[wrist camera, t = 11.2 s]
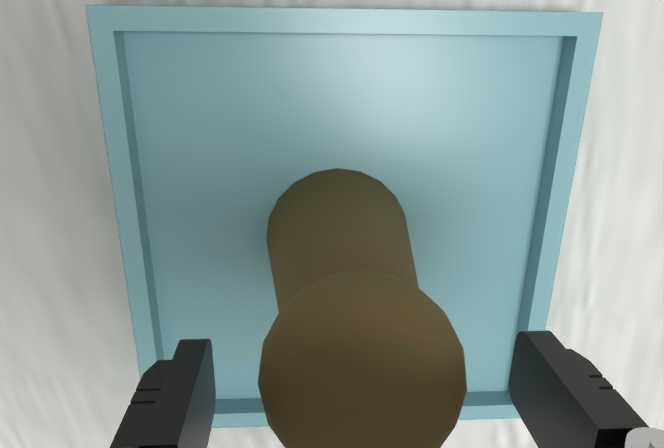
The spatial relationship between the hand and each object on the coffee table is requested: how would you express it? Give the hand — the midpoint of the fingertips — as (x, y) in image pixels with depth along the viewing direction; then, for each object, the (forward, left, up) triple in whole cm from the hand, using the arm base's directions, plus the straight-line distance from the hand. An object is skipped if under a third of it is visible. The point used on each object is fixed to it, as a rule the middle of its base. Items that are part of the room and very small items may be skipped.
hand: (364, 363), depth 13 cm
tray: (0, 0, -10) cm, 10 cm away
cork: (0, 0, -9) cm, 9 cm away
